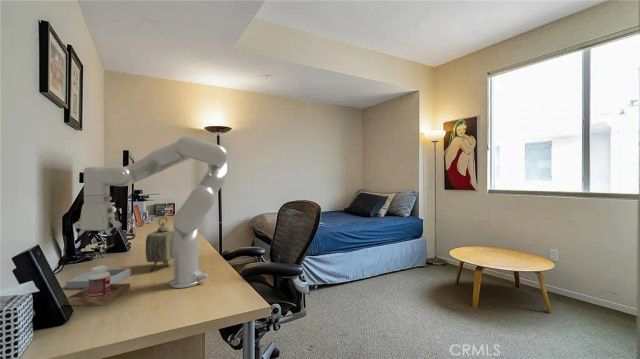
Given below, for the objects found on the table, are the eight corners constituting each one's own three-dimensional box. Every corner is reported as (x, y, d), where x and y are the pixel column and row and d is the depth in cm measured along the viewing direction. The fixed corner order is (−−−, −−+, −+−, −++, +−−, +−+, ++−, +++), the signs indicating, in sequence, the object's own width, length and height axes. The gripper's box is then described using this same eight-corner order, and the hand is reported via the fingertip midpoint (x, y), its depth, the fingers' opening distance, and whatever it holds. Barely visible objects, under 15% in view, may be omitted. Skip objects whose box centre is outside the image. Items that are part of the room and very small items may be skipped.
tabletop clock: (163, 262, 147) (163, 215, 147) (180, 262, 147) (180, 215, 147) (145, 271, 132) (145, 219, 133) (164, 271, 132) (163, 219, 132)
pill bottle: (109, 298, 102) (109, 268, 102) (87, 302, 99) (87, 271, 99) (110, 292, 108) (110, 264, 108) (90, 296, 104) (90, 266, 104)
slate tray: (130, 275, 128) (130, 268, 128) (106, 288, 112) (106, 280, 112) (95, 275, 127) (95, 269, 127) (66, 289, 112) (66, 281, 112)
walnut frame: (130, 289, 110) (130, 283, 110) (105, 304, 97) (105, 297, 97) (94, 290, 110) (94, 284, 110) (64, 305, 96) (64, 298, 96)
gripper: (127, 199, 108) (127, 243, 108) (83, 199, 108) (83, 243, 108) (112, 200, 100) (112, 247, 100) (65, 200, 101) (65, 248, 101)
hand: (97, 245), depth 104 cm, fingers open, 9 cm apart
